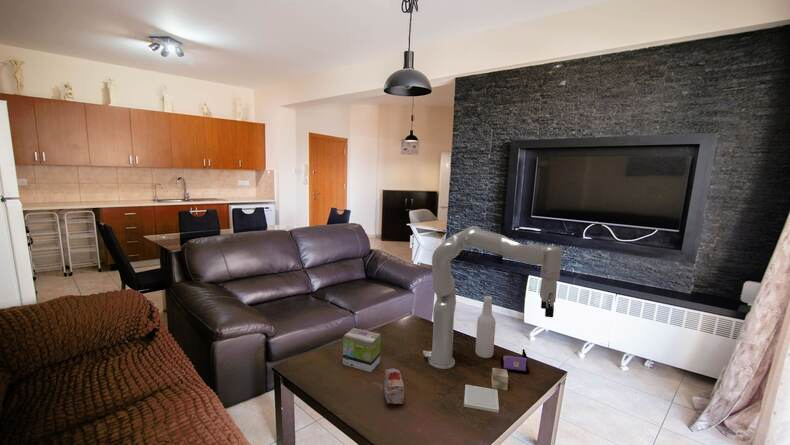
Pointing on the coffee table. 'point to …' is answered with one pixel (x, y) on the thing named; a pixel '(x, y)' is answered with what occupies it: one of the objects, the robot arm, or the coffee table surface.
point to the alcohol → (485, 330)
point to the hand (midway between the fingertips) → (546, 312)
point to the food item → (393, 386)
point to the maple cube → (499, 379)
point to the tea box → (361, 349)
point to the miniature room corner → (515, 363)
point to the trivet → (481, 398)
